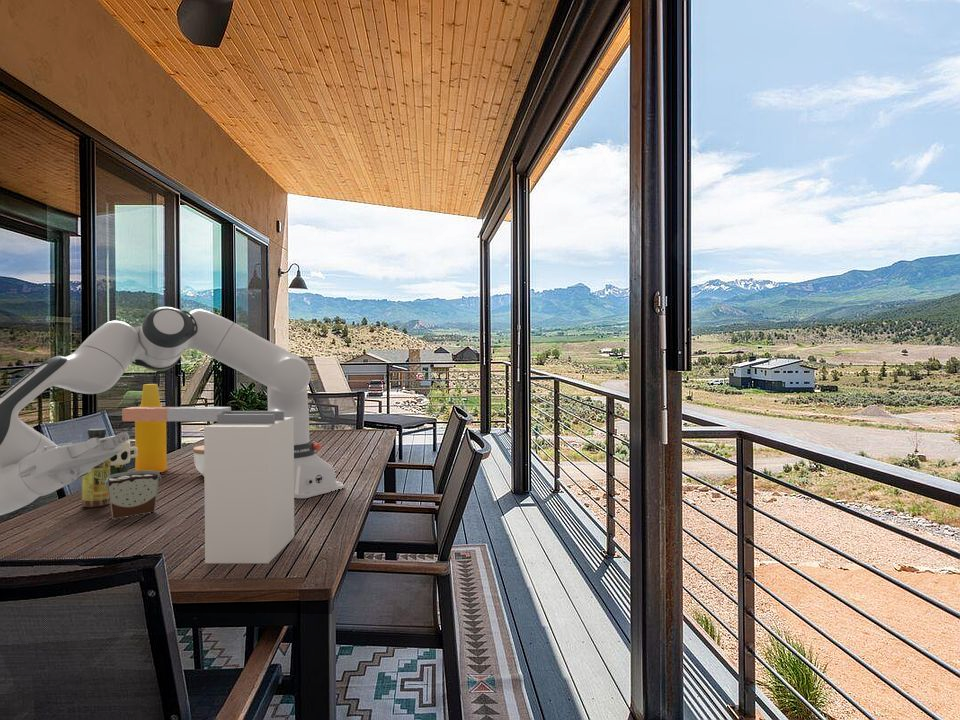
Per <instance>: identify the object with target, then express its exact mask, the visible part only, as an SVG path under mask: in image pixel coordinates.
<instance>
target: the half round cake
mask: <svg viewBox="0 0 960 720" xmlns="http://www.w3.org/2000/svg"><path fill="white" fill-rule="evenodd" d="M159 480H160V481H161V480H162V477H161V474H160V473H159V472H158V471H136V470H132V471H128V472H123V473H117V474H113V475H110V476H108V477H107V479H106V481H105V486H104V487H105V488H106V485H107V486H108V493H109V505H110V507H109V508H110V516H111V520H112V519H114V520H117V519H116V518H120V519H122V518H121V517H126V516H131V517H133V516H132V515H137V516H139V515H138V514H143V515H146V514H145V513H149V514H152V513H151V512H154V513H156V508H157V499H158V488H159ZM126 518H127V517H126Z"/></svg>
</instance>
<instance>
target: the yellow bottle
mask: <svg viewBox="0 0 960 720" xmlns="http://www.w3.org/2000/svg"><path fill="white" fill-rule="evenodd" d="M158 385H159V384H158V383H147V384H143V385H142V386H143V387H142V394H141V402H140V405H139V407H163V406H162V403H161V401H160V400H161V399H160V392H159V386H158ZM134 429H135V430H134V431H135V432H134V438H135V439H134V440H135V443H134V447H137V449H138V456H137V457H136V458H135V463H134V464H135V467H134V468H135V470H134V471H158V472H159V474H160V472H161V473H164V472H166V471H167V468H168V457H167V455H168V454H167V452H168V451H167V445H168V444H167V421H134Z"/></svg>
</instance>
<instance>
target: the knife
mask: <svg viewBox="0 0 960 720" xmlns="http://www.w3.org/2000/svg"><path fill="white" fill-rule="evenodd" d="M231 411H232V407H231V406H162V407H140V406H131V407H125V408H122V409H121V412H122V413H121V417H122V418H121V421H122V422H135V421H166V422H217V414H231Z"/></svg>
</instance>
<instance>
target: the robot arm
mask: <svg viewBox="0 0 960 720" xmlns="http://www.w3.org/2000/svg"><path fill="white" fill-rule="evenodd" d="M185 350H196V351H200V352H201V353H203V354H205V355H207V356H209V357H211V358H212V359H214V360H217V361H219V362H220V363H222V364H224V365H226V366H227V367H230V368H232V369H234V370H236V371H237V372H239V373H241V374H242V375H245V376H247V377H248V378H251V379H252V380H254V381H256V382H258V383H260V384H262V385H263V386H266V388H267V391H266V393H267V396H266V397H267V411H284V417H294V499H308V498H311V497H316V496H319V495H320V496H321V495H323V494H327V493H331V491H332V492H335V490H336V491H339V490H338V489H340V490H343V489H344V488H345V487H344V486H345V485H344V483H342V482H341V481H338V480H337V478H336V477H337V476H336V473H335V469H334V467H333V466H332V465H331V464H330V463H328V462H327V461H325V460H324V459H322V457H319V456H318V455H317V454H316V452H315V451H322V448H323V445H322V444H321V443H318V442H315V443H313V442H311V441H310V412H309V411H310V410H309V401H308V399H309V398H308V386H309V384H310V382H311V379H312V377H311V376H312V373H311V368H310V366H309V365H308V362H307V361H305V360H304V359H303V358H302V357H299V355H296V354H294V353H292V352H291V351H288V350H286V349H285V348H282V347H280V345H277V344H275V343H273V342H271V341H270V340H267V339H265V338H264V337H261V336H259V335H258V334H256V333H254V332H252V331H251V330H248V329H247V328H245V327H243V326H241V325H239V324H238V323H235V322H234V321H232V320H230V319H228V318H227V317H226V318H225V317H223V316H222V315H220V314H216V313H214V312H212V311H209V310H206V309H202V308H199V309H198V308H197V309H196V308H195V309H194V310H191V311H189V312H188V311H187V310H183V309H179V308H176V307H172V306H159V307H157V308H154V309H152V310H150V312H148V313H147V315H146V316H145V317H144V319H143V321H142V325H141V326H132V325H130V324H128V323H127V322H124V321H120V320H111V321H107V322H105V323H103V324H102V325H100V326H99V327H98V328H96V330H94V331H93V332H92V333H91V334H90V335H89V336H88V337H86V339H85V340H84V341H83V342H82V343H81V344H80V345H79V346H78V348H76V350H75V351H73V352H72V353H70V354H69V355H67V356H62V355H56V356H54V357H53V356H52V357H51V358H48V359H46V360H45V361H43V362H42V363H40V364H39V365H37V366H36V367H35V368H33V369H31V370H30V371H29V372H28V373H26V374H25V375H24V376H23V377H22V378H20V379H19V380H18V381H16V382H15V383H14V384H13V385H12V386H10V387H9V388H8V389H7V390H4V392H2V394H0V516H3V515H6V514H9V513H12V512H15V511H17V510H19V509H21V508H23V507H26V506H27V505H30V504H31V503H33V502H35V500H37V499H38V498H39V497H43V496H47V495H49V494H52V493H55V492H56V491H58V490H60V489H62V488H64V487H67V486H68V485H70V484H72V483H73V482H74V481H76V480H77V479H78V478H82V476H84V475H86V474H88V473H90V472H91V471H92V470H91V468H93V467H95V466H97V465H99V464H101V463H103V462H104V461H106V460H108V459H109V458H111V457H113V456H114V455H116V454H118V453H119V452H120V451H121V450H122V445H121V444H122V443H123V442H125V441H129V440H130V435H129V433H128V432H127V431H123V432H120V433H117V434H116V435H111V436H107V437H106V436H105V438H101V439H99V438H97V437H96V438H91V439H89V438H88V440H86V441H82V442H81V441H80V442H76V443H72V444H66V445H59V446H58V445H57V444H56V443H55V442H54V441H53V440H51V439H50V438H48V437H47V436H45V435H44V434H43V433H41V432H39V431H37V430H36V429H35V428H33V427H32V426H30V425H29V424H27V423H25V422H24V421H22V420H21V419H20V418H19V413H20V412H21V411H22V410H23V409H25V407H27V406H28V405H29V404H31V403H32V402H33V401H34V400H35V399H36V398H37V397H38V396H40V395H41V394H42V393H43V392H45V391H46V390H47V389H49V388H51V387H57V388H61V389H62V390H63V389H64V390H68V391H71V392H74V393H79V394H85V395H95V394H100V393H101V394H102V393H105V392H107V391H108V390H110V389H111V388H112V387H114V386H115V384H116V383H118V381H119V380H120V378H121V377H122V376H123V374H124V373H125V372H126V370H128V367H130V365H131V364H133V365H136V366H139V367H143V368H145V369H147V370H150V371H153V372H163V371H167V370H169V369H171V368H173V367H174V366H175V365H176V364H177V363H178V362H179V360H180V359H181V356H182V355H183V353H184V351H185ZM342 488H343V489H342Z"/></svg>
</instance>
